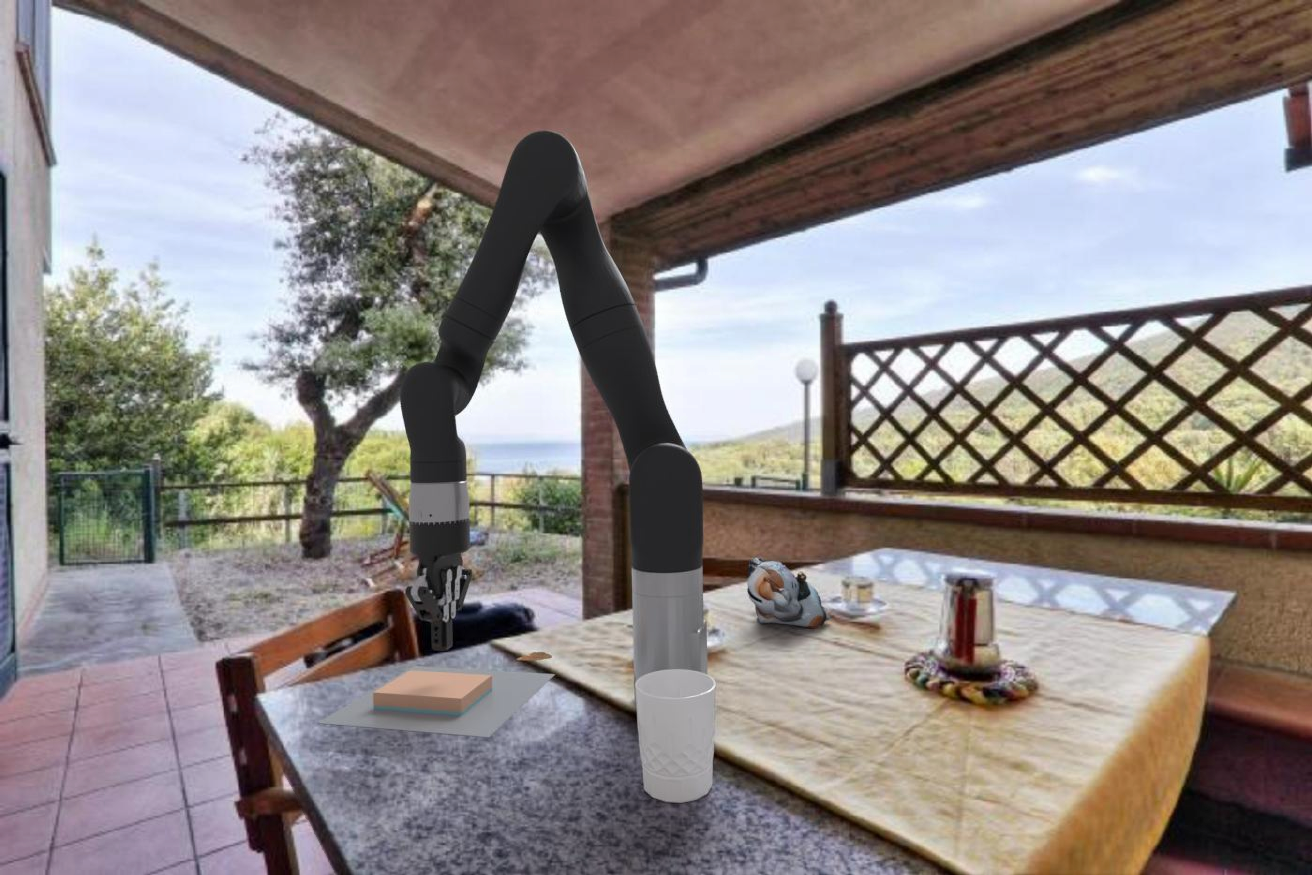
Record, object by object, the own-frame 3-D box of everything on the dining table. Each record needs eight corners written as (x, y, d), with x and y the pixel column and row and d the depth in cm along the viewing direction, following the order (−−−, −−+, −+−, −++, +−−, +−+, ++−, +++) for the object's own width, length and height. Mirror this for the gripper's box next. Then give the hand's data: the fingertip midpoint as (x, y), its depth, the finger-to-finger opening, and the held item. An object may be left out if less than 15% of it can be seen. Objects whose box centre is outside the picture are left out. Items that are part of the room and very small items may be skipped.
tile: (491, 675, 88) (461, 698, 80) (492, 690, 88) (461, 715, 80) (410, 670, 90) (373, 692, 83) (410, 684, 90) (373, 708, 83)
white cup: (635, 767, 69) (633, 670, 69) (710, 763, 69) (708, 667, 69) (639, 810, 61) (637, 700, 61) (725, 804, 62) (722, 695, 62)
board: (555, 682, 93) (554, 674, 93) (489, 747, 74) (488, 737, 74) (414, 673, 98) (414, 665, 98) (317, 732, 79) (317, 722, 79)
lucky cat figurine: (840, 628, 116) (817, 564, 112) (778, 658, 116) (752, 594, 111) (806, 586, 131) (784, 527, 126) (751, 612, 130) (727, 554, 125)
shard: (599, 669, 100) (599, 657, 100) (565, 685, 93) (564, 673, 93) (545, 658, 106) (545, 646, 106) (510, 672, 99) (509, 660, 99)
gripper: (438, 523, 80) (441, 667, 80) (489, 510, 93) (492, 635, 93) (383, 522, 82) (385, 664, 82) (440, 510, 95) (443, 633, 94)
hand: (442, 648), depth 87 cm, fingers closed
